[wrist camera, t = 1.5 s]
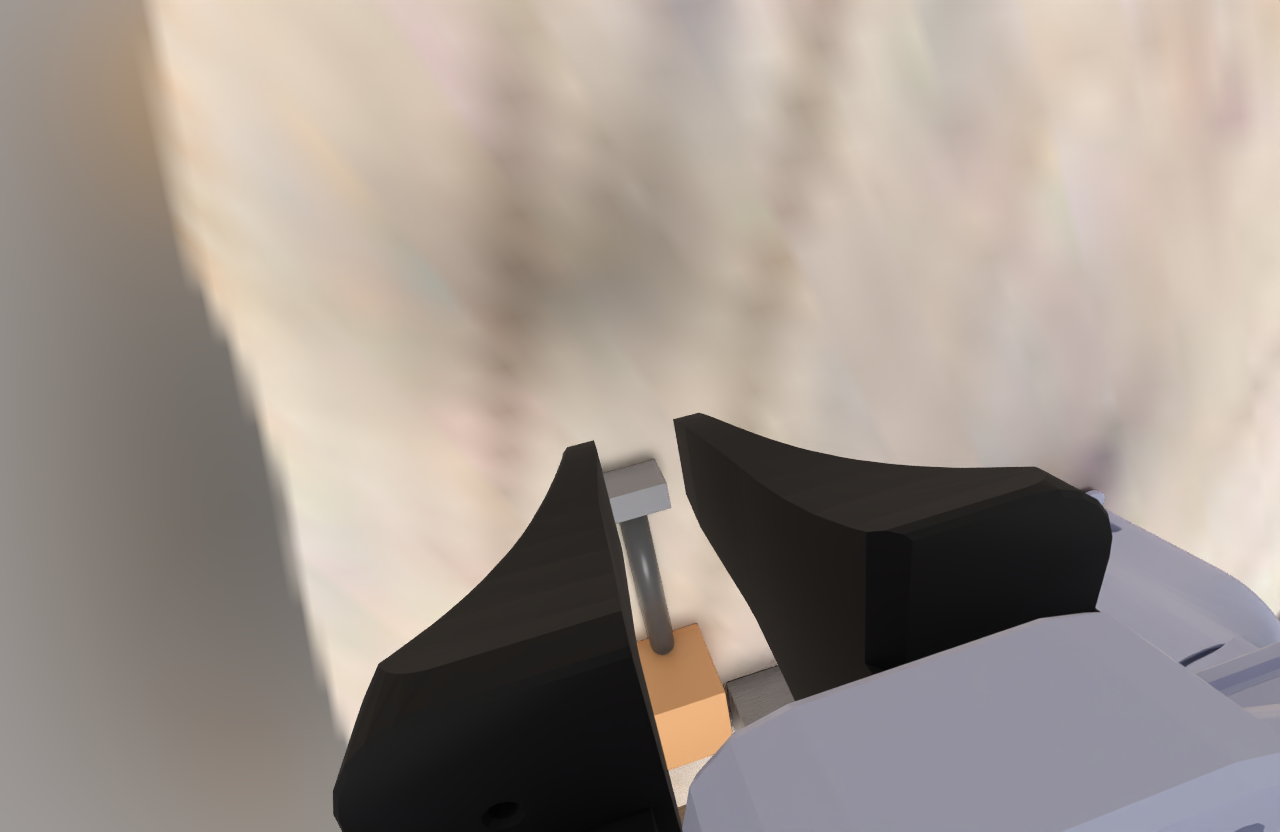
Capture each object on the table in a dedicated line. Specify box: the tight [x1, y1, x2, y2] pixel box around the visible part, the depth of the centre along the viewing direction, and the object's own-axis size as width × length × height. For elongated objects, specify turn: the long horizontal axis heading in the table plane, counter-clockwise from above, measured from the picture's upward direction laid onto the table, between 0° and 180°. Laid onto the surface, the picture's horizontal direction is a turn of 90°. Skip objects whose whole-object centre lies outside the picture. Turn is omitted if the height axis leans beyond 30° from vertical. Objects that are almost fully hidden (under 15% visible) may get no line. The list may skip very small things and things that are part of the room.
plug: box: [603, 459, 732, 770], centre depth 22 cm, size 4×14×4 cm, turn 11°
